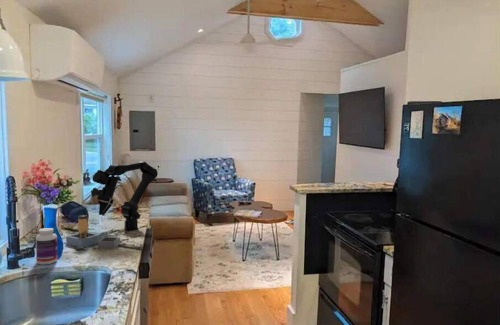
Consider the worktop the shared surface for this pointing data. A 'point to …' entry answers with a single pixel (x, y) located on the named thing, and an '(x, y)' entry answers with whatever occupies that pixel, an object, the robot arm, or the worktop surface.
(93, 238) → the bin
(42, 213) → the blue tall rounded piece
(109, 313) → the worktop surface
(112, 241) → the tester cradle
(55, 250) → the pill bottle
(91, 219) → the worktop surface
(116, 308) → the worktop surface
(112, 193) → the robot arm
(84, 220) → the jumbo cell
